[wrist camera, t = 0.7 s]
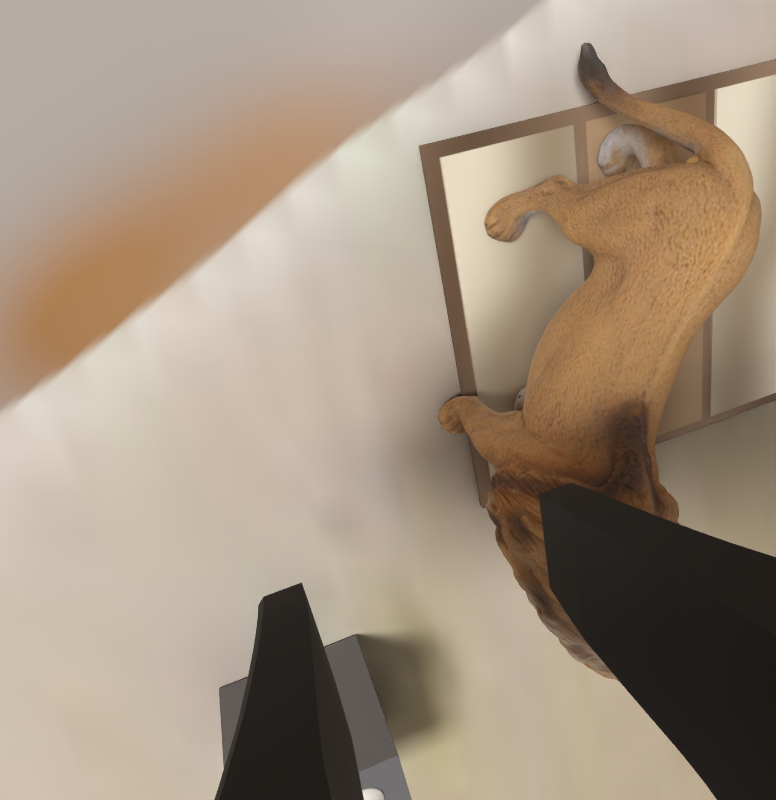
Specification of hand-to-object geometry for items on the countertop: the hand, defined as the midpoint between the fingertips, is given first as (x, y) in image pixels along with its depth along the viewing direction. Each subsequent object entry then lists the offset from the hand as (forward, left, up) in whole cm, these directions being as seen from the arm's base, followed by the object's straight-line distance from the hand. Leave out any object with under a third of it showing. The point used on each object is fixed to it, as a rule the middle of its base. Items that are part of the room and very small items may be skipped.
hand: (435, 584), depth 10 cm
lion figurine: (-7, 0, -9) cm, 12 cm away
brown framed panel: (-11, 0, -9) cm, 15 cm away
